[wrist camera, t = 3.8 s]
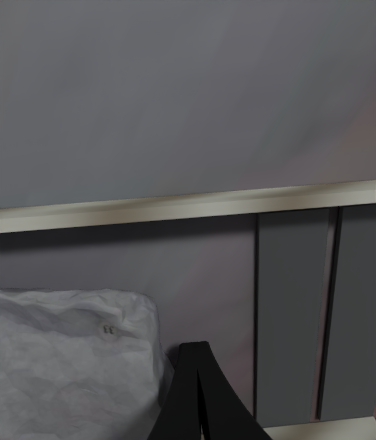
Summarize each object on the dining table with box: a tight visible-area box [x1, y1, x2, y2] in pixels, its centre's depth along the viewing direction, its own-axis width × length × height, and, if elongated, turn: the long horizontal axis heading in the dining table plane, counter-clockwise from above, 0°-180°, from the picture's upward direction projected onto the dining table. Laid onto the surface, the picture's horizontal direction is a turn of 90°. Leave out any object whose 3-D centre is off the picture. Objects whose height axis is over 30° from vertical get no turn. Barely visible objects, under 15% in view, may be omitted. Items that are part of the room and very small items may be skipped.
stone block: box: [0, 288, 175, 440], centre depth 13 cm, size 12×5×10 cm
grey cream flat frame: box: [0, 180, 376, 440], centre depth 13 cm, size 24×14×2 cm, turn 94°
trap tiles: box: [255, 203, 376, 427], centre depth 14 cm, size 7×12×1 cm, turn 4°
